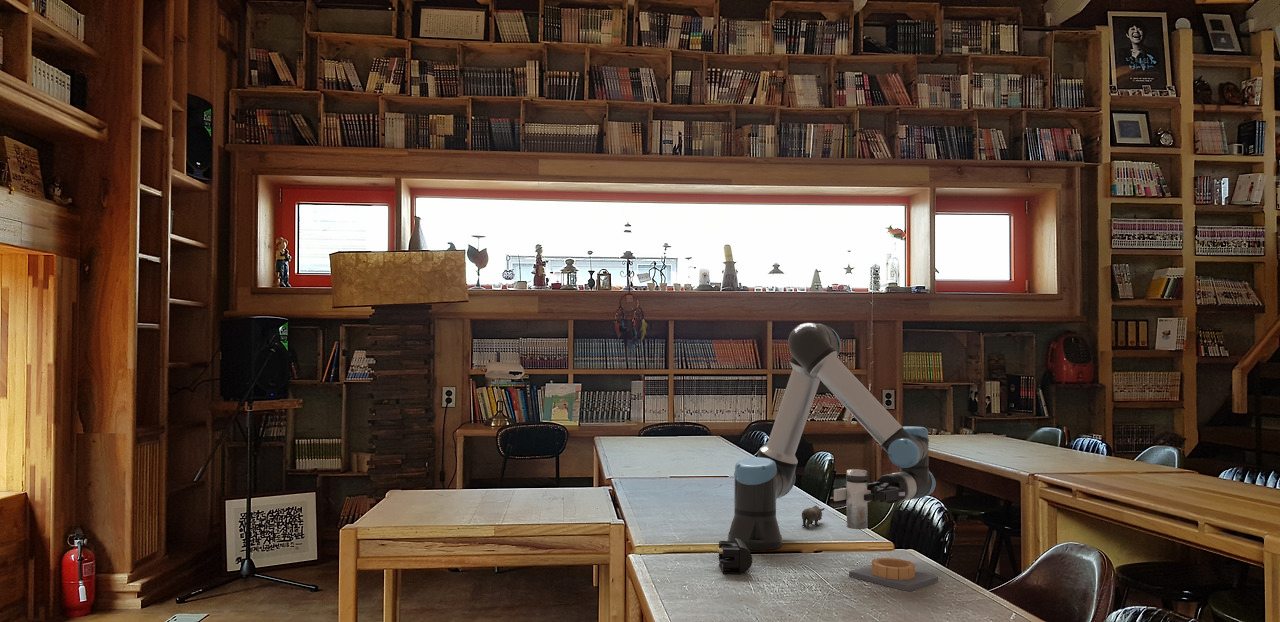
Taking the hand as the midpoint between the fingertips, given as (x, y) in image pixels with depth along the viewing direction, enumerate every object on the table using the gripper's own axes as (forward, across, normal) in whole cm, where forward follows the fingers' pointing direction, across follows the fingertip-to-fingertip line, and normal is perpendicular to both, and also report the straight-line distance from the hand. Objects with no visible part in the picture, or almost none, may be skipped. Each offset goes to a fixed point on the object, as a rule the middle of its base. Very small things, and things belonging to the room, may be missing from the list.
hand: (844, 496), depth 199 cm
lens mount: (-5, -10, -18) cm, 22 cm away
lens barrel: (-5, 0, -8) cm, 10 cm away
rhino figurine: (-41, +39, -19) cm, 60 cm away
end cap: (+19, +19, -19) cm, 33 cm away
